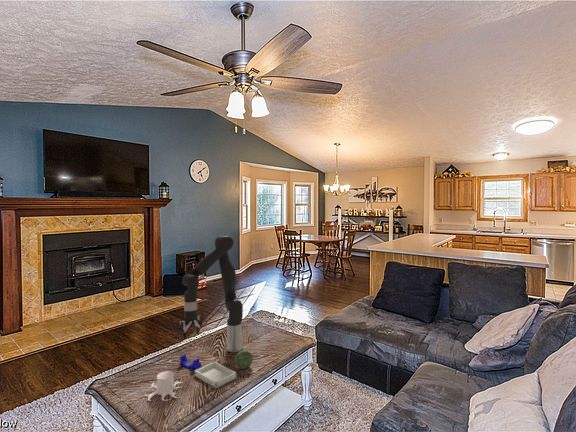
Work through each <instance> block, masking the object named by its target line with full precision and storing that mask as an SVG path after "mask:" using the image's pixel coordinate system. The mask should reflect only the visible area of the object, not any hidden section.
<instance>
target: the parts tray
mask: <svg viewBox="0 0 576 432" xmlns="http://www.w3.org/2000/svg"><path fill="white" fill-rule="evenodd" d="M237 375H238V374H237V372H236V371H234V370H232V369H230V368H229V367H226V366H224V365H222V364H220V363H219V362H216V361H213V362H211V363H208V364H206V365H203V366H201V367H200V368H199V369H197V370H194V377H196V378H198V379H200V380H201V381H203V382H204V383H206V384H208V385H209V386H210V387H212V388H214V389H218V388H220V387H222V386H225V385H226V384H229V383H230V382H232V381H234V380H236V379H237V377H238V376H237Z"/></svg>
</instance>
